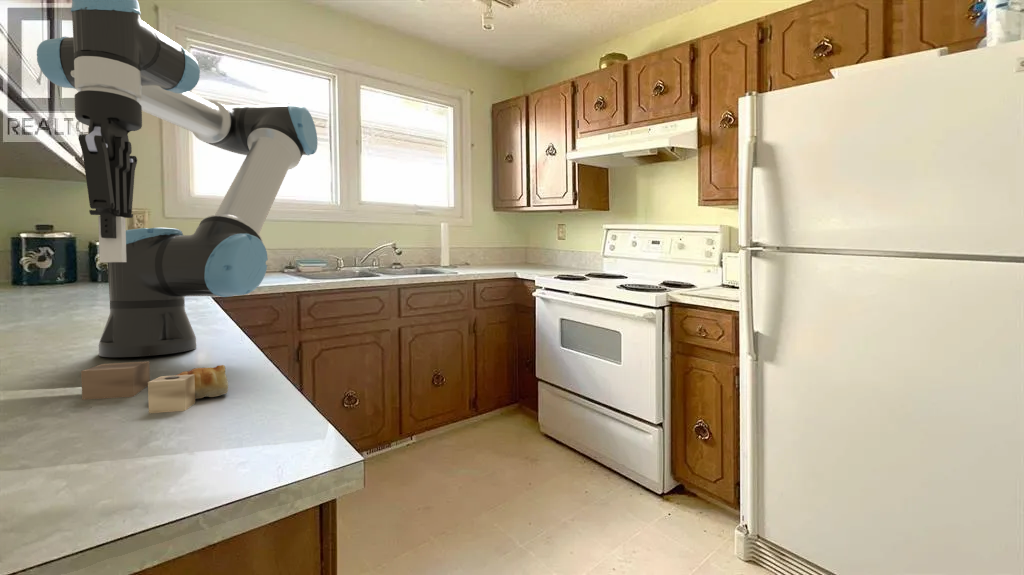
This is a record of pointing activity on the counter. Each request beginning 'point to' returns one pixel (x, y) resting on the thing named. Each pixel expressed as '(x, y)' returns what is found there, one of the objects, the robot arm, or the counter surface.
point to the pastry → (209, 381)
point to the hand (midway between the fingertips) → (113, 261)
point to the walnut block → (115, 380)
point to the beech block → (171, 393)
